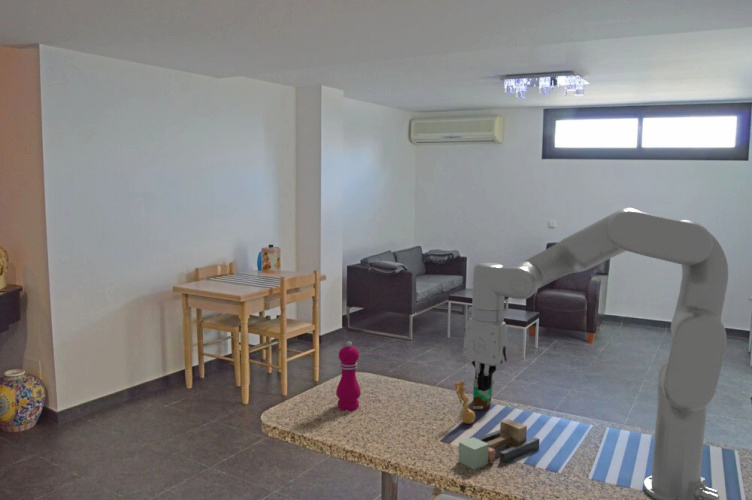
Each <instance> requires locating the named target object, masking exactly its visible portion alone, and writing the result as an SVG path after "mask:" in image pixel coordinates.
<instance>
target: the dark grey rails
mask: <svg viewBox="0 0 752 500" xmlns="http://www.w3.org/2000/svg"><path fill="white" fill-rule="evenodd" d="M499 437H500V429H499V430H495V431H494V432H493V431H492V432H490V433H488V434H485V435H482V436H480V437H477V438H476V439H479V440H481V441H483V442H485V443H486V442H488V441H491V440H493V439H496V438H499ZM539 449H540V438H538V437H533V438H531V439H528V440H526V442H523V443H521V444H519V445H516V446H514V447H509V448H506V449H504V450H502V451H500V452H499V463H501V464H507V463H509V462H511V461H513V460H516V459H517V458H520V457H522V456H525V455H528V454H530V453H532V452H534V451H536V450H539Z"/></svg>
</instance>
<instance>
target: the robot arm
mask: <svg viewBox="0 0 752 500" xmlns="http://www.w3.org/2000/svg"><path fill="white" fill-rule="evenodd" d="M719 242H720V241H718V240H717V238H716V237H715V236H714V235H713V234H712V233H711V232H710V231H709V230H708V228H706V227H704V225H701V224H700V223H698V222H696V221H694V220H691V219H690V220H689V219H681V220H678V219H673V218H669V217H664V216H660V215H655V214H652V213H648V212H643V211H641V210H639V209H636V208H634V207H625V208H621V209H618V210H617V211H615V212H613V213H611V214H609V215H607V216H605V217H603V218H601V219H599V220H598V221H596V222H594V223H592V224H590V225H588V226H586V227H584V228H582V229H580V230H579V231H578V230H577V232H574V233H572V234H570V235H568V236H566V237H564V238H563V239H561V240H559V242H557V243H556V244H554V245H552V246H550V247H548V248H545V250H541V251H540V252H538V253H537V254H534V255H532V256H530V257H529V258H527V259H524V260H523V261H521V262H519V263H517V264H516V265H514V266H512V267H505V265H503V264H501V263H495V262H480V263H477V264H476V265H475V266H474V268H473V279H472V280H473V281H472V302H471V306H469V307H468V309H467V310H468V312H469V313H471V317H469V318H468V320H467V323H466V327H465V332H464V337H463V338H464V339H463V350H462V351H463V352H462V355H463V357H464V358H465V360H466V362H468V363H470V364H472V366H473V368H474V369H476V373H478V380H477V384H478V390H481V391H486V390H489V389H490V388H491V383H492V374H493V375H494V374H495V372H496V371H498V372H499V371H505V370H506V369H507V368H506V367H507V366H506V362H507V361H508V360H507V359H508V350H509V349H508V348H509V343H508V331H507V330H508V329H507V324H506V321H504V319H505V318H504V317H505V316H504V315H505V299H506V298H510V299H514V300H527V299H529V298H530V297H532V296H533V295H534V294H535V293H536V291H537V290H538V289H539V288H542V287H544V286H546V285H548V284H550V283H552V282H553V281H556V280H558V279H561V278H562V277H564V276H567V275H570V274H573V273H574V274H575V273H581V272H584V271H588V270H590V269H592V268H594V267H596V266H598V265H600V264H602V263H604V262H605V261H608V260H610V259H613V258H614V257H616V256H619V255H620V254H623V253H625V252H629V253H632V254H637V255H640V256H644V257H649V258H653V259H656V260H657V259H658V260H662V261H665V262H670V263H674V264H678V265H681V270H682V272H681V273H682V274H681V275H682V276H681V282H680V288H679V293H678V298H677V300H676V301H677V302H676V306H675V310H674V314H673V317H672V320H671V324H670V331H671V335H672V340H671V345H670V350H669V353H668V354H667V355H666V356H665V357H664V358H663V359H662V361H661V362H660V364H659V367H658V370H657V371H658V372H657V395H656V396H657V399H656V401H657V402H656V415H655V416H656V418H655V429H654V440H653V453H652V454H653V455H652V468H651V475H649V476H648V477H646V478H644V480H643V490H644V491H645V492H646V493H647V494H648V495H649V496H650V497H652V498H654V499H655V500H720V495H719V491H718V490H716V489H715V488H711V487H708V486H707V485H706V478H705V477H702V467H703V466H702V465H703V464H702V462H703V452H704V440H705V431H706V421H707V419H706V416H707V406H708V405H709V404H710V403H711V402H712V400H713V398H714V396H715V393H716V391H717V387H718V382H719V379H720V375H721V372H722V371H721V370H722V367H723V363H724V362H723V361H724V359H725V353H726V350H727V343H728V340H727V339H728V338H727V337H728V336H727V332H726V327H725V326H724V324H723V323H722V314H723V309H724V304H725V299H726V293H727V288H728V282H729V265H728V260H727V257H726V253H725V251H724V249H723V247H722V246H721V244H720V243H719ZM505 297H506V298H505Z"/></svg>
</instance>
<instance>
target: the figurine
mask: <svg viewBox="0 0 752 500" xmlns="http://www.w3.org/2000/svg"><path fill="white" fill-rule="evenodd" d="M464 385H466V383H465V381H464V380H462V381H460V382H459V381H457V382H455V384H454V387H455V390H456V395H457V397H458V400H459V403H460V404H462V407H463V410H462V412H461V413H460V414H461V415H460V418H461V421H462V422H463V423H464V424H466V425H467V424H468V425H470V424H473V423H474V422H475V419H476V414H475V411H473V409H470V408H469V407H468V406H467V404H468V402H469V401H470V399H469V397H468V396H467V395H468V394H469V392H468V390H467V389H466V388H465V386H464ZM464 391H465V392H464ZM466 394H467V395H466Z"/></svg>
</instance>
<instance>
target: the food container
mask: <svg viewBox="0 0 752 500" xmlns="http://www.w3.org/2000/svg"><path fill="white" fill-rule="evenodd" d="M474 369H475V368H474ZM474 372H475V373H474V379H473V390H472V391H473V392H472V393H473V394H472V402H473V403H472V411H473V412H484V411H488V410H489V409H491V403H492V397H493V396H492V394H493V387H494V384H496V378H495V377H496V376H495V375H494V373H493V374H492V383H491V388H490V389H489V390H486V391H481V390H478V384H477V380H478V373H476V369H475V370H474Z"/></svg>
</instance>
